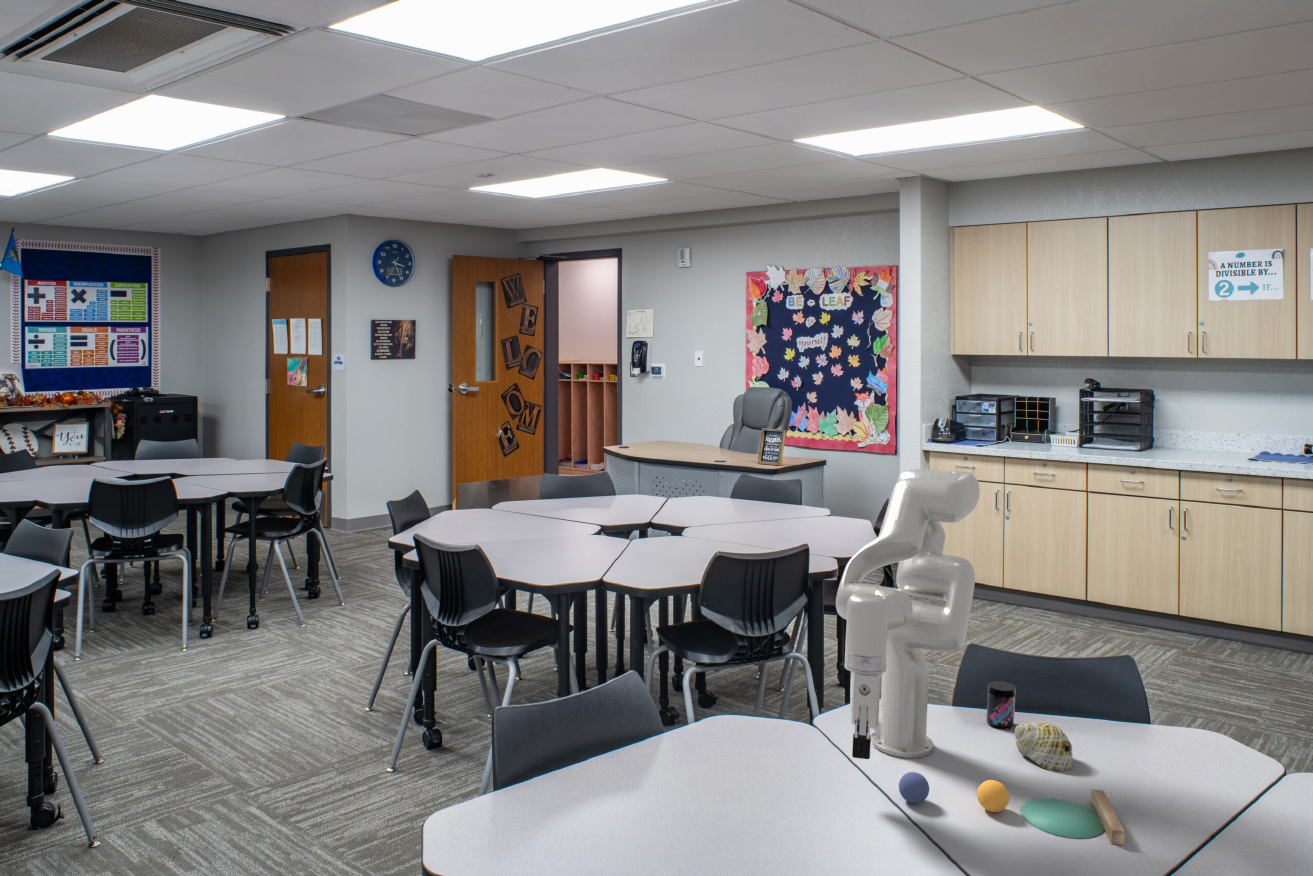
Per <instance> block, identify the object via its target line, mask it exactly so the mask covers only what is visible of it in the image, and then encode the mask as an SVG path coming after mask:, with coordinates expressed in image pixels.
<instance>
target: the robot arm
mask: <svg viewBox="0 0 1313 876" xmlns="http://www.w3.org/2000/svg"><path fill="white" fill-rule="evenodd" d="M896 481H897V482H896V484H895V485H894V486H893V489H892V492H891V494H890V498H889V500H888V505H887V507H886V511H885V513H884V514H885V515H884V517H883V520H882V524H881V526H880V531H879V533H878V536H877V537H876V538H875V539H873V540H872V541H870V542H868V543H867V544H865V545H863V547H861V548H860V549H859V550H858V551H857V552H856V553H855V554H854V555H853V556H852V557H851V558H849V560H848V561H847V563H846V565H845V567H844V570H843V573H842V576H841V579H840V581H839V585H838V588H837V592H836V597H835V608H836V612H837V614H838V615H839V616H840V617H841V618H842V619H844V620H846V627H845V629H846V630H845V645H844V647H845V648H844V649H845V651H844V668H845V670H847V671H849V672H850V685H849V686H850V688H849V689H850V690H849V693H850V694H849V695H850V696H849V698H850V700H849V701H850V703H849V705H850V716H851V717H850V718H851V724H852V725H853V727H854V733H852V751H851V752H852V754H851V755H852V758H855V759H861V760H870V758H871V742H872V745H873V746H874V747H875V748H876V749H877V750H879V751H880V752H883V753H884V754H887V755H891V756H894V757H899V758H906V759H907V758H908V759H910V758H922V757H925V756H927V755H929V754H931V753H932V752H933V751H934V741H933V740H932V739H931V738H930V736H928V735H927V730H928V729H927V726H928V704H929V703H928V702H929V701H928V699H929V682H930V681H929V677H930V668H929V663H928V660H927V658H926V656H925V654H924V652H923V651H922V649H924V650H930V651H933V652H934V651H935V652H940V653H947V654H955V653H958V652H959V651H960V650H961V649H962V648H963V646H964V644H965V642H966V637H967V632H968V627H969V622H970V621H969V620H970V614H971V610H972V604H973V597H974V591H975V586H976V585H975V581H976V579H975V578H976V577H975V575H976V574H975V569H974V567H973V564H972V563H971V561H969V560H968V559H966V558H964V557H961V556H956V555H948V554H943V552H944V547H945V541H946V532H945V530H944V528H943V526H942V524H941V523H950V524H951V523H952V524H956V523H959V522H961V521H962V520H963V519H965V518H966V517H967V516H969V514H971V513H973V510H975V509H976V506H977V505H978V502H979V499H980V493H981V492H980V484H979V481H978V479H977V477H976V476H974V475H973V474H972V473H968V472H961V471H960V472H959V471H948V470H936V469H923V468H922V469H921V468H913V469H907V470H904V471H902V472H900V474H899V475H898V478H897V480H896ZM940 522H941V523H940ZM895 563H896V564H897V563H898V565H897V570H896V579H895V583H896V586H897V588H896V587H889V586H883V585H877V584H871V583H864V582H862V581H863V579H864V578H865V577H866V576H867V575H868V574H870V573H871V572H873V571H875V570H877V569H879V568H881V567H886V566H888V565H892V564H895ZM911 596H913V597H919V598H926V599H931V600H936V601H937V600H939V601H944V602H945V603H946V604H941V603H934V602H928V601H922V600H916V599H912V597H911ZM880 696H881V697H880ZM879 715H880V717H879ZM871 729H872V730H873V731H874V733H873V735H872V736H871Z"/></svg>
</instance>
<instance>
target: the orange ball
mask: <svg viewBox="0 0 1313 876" xmlns="http://www.w3.org/2000/svg"><path fill="white" fill-rule="evenodd" d="M976 796H977V800H978V803H979V804H980V806H981V807H982V808H983V809H985V810H986V811H988V812H991V813H999V812H1001V811H1003V810H1004V809H1005V808H1006V807H1007V806H1008V805H1009V802H1010V797H1009V792H1008V790H1007V788H1006V786H1005V785H1003V783H1001V782H1000V781H998V780H995V779H994V780H993V779H988V780H985V781H983V782H982V783H981V784H980V785H979V786H978V789H977V793H976Z"/></svg>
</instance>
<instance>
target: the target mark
mask: <svg viewBox="0 0 1313 876" xmlns="http://www.w3.org/2000/svg"><path fill="white" fill-rule="evenodd" d="M1020 813H1021V816H1022V817H1023V819H1025V821H1026V822H1027V823H1029V824H1030V825H1031V826H1033V827H1035V828H1036V829H1039V830H1040V831H1043V832H1045V833H1047V834H1049V835H1055V836H1058V837H1063V838H1069V839H1090V838H1095V837H1098V836H1100V835H1102V834H1103V833H1104V832H1105V830H1104V827H1103V825H1102V823H1101V821H1100V818H1099V816H1098V814H1097V813H1096V811H1095V810H1093V809H1090V808H1089V807H1087V806H1084V805H1082V804H1080V803H1077V802H1073V801H1069V800H1065V799H1062V798H1061V799H1060V798H1053V797H1052V798H1051V797H1040V798H1033V799H1030V800H1027V801H1025V802H1024V803H1023V804H1022V805H1021V807H1020Z"/></svg>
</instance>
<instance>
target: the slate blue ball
mask: <svg viewBox="0 0 1313 876" xmlns="http://www.w3.org/2000/svg"><path fill="white" fill-rule="evenodd" d="M898 791H899V794H900V795H901V797H902V798H903V799H904V800H905V801H906V802H908V803H911V804H921V803H923V802H924V801H926V799H927V797H928V796H929V793H930V785H929V782H928V780H927V778H925V776H924V775H922V774H921V773H919V772H916V771H909V772H907V773H904V774H903V775H902V776H901V778H900V779H899V782H898Z"/></svg>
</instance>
